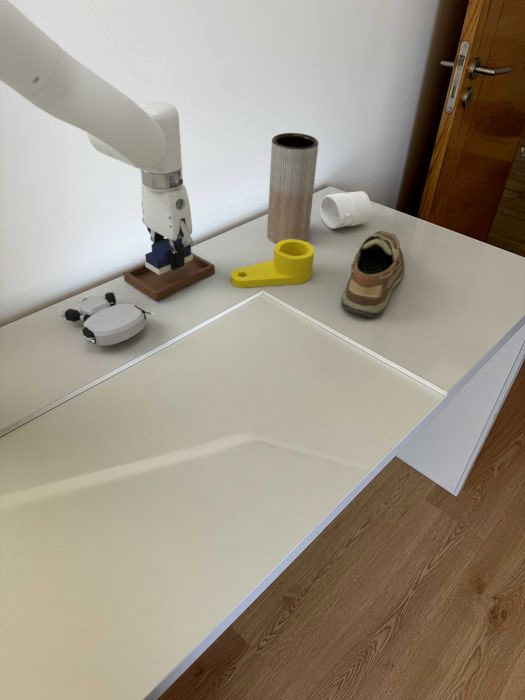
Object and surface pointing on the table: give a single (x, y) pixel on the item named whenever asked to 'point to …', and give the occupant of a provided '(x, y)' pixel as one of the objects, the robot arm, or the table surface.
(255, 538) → the table surface
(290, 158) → the planter
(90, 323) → the robot toy
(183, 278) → the tray
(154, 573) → the table surface
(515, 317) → the table surface
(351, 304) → the boat shoe
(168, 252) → the navy stepped block
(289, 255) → the crank
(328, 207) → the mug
